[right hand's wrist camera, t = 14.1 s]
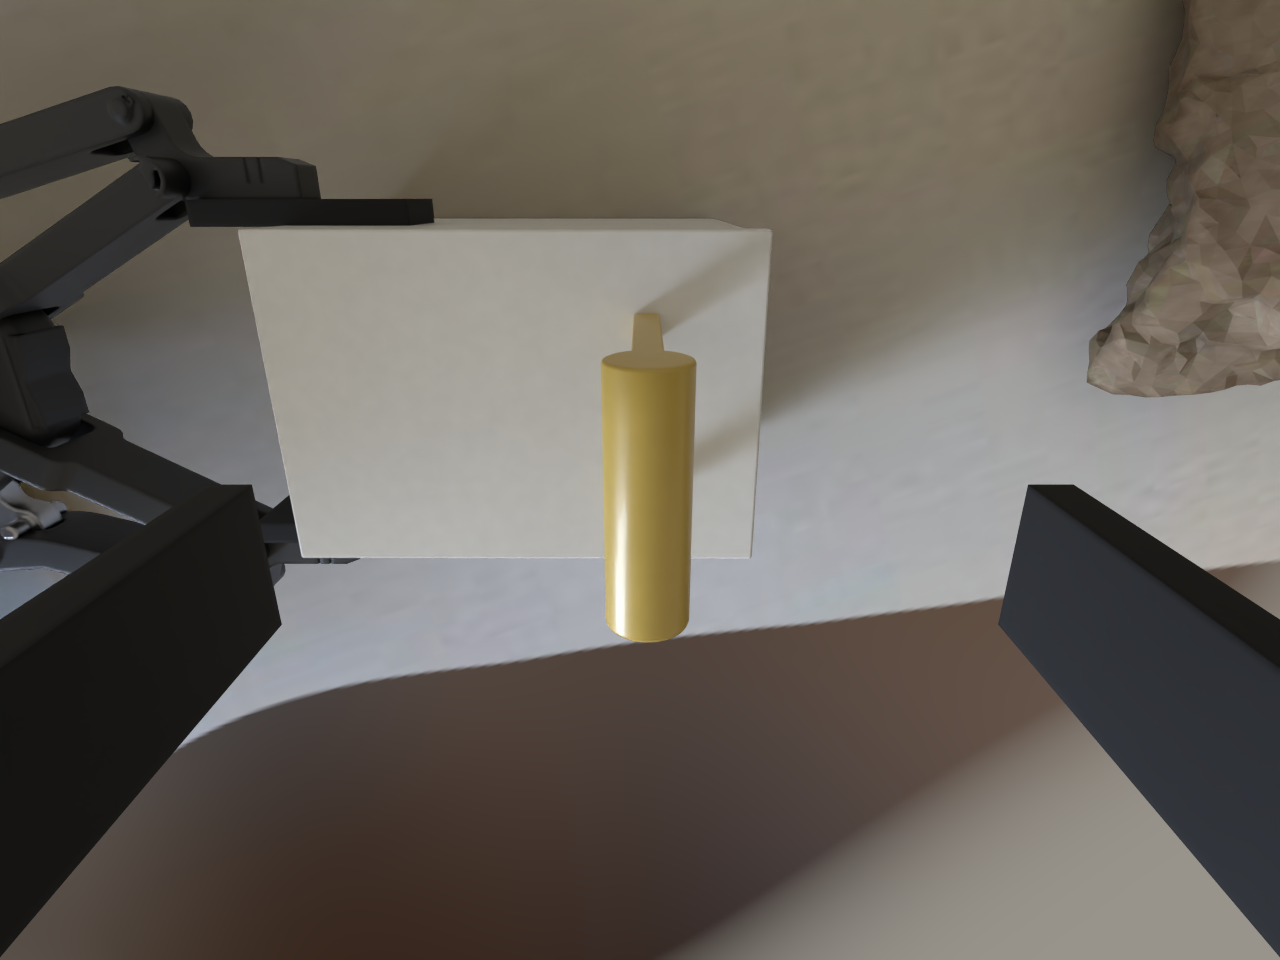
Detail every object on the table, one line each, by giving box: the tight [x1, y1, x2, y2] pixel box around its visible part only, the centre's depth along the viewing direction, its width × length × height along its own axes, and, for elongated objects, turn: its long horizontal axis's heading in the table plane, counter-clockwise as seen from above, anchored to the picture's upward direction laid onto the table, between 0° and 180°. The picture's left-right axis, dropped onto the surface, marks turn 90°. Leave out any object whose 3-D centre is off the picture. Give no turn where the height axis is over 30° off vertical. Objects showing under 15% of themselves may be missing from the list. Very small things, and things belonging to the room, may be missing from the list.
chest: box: [261, 219, 743, 228], centre depth 26 cm, size 14×10×9 cm
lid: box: [238, 228, 773, 642], centre depth 17 cm, size 14×10×8 cm
